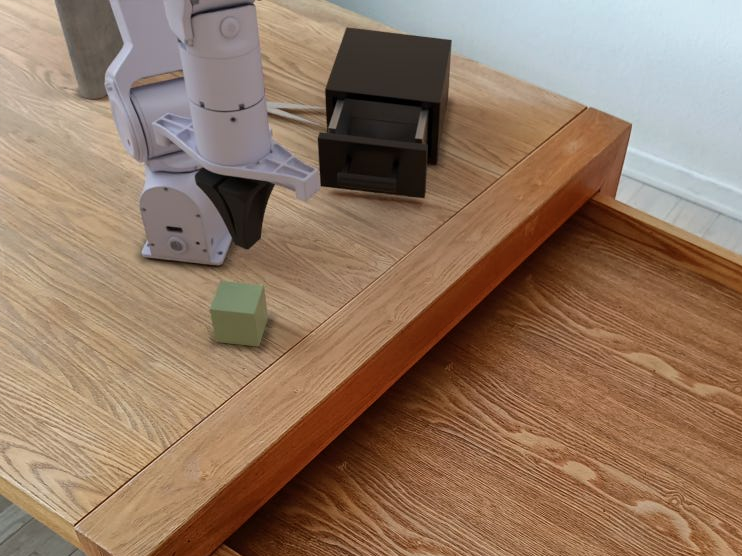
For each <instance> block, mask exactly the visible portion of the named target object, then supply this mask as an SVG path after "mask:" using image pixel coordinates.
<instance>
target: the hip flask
mask: <svg viewBox="0 0 742 556" xmlns="http://www.w3.org/2000/svg"><path fill="white" fill-rule="evenodd" d="M53 1H54V5H55V8H56V11H57V15H58V19H59V22H60V26H61V30H62V32H63V37H64V40H65V41H64V42H65V44H66V48H67V51H68V54H69V59H70V62H71V65H72V68H73V73H74V76H75V81H76V82H77V83H76V84H77V87H78V90H79V91H78V92H79V94H80V96H82V98H84V99H88V100H96V99H97V100H99V99H101V98H104V97H106V96H108V94H107V91H106V88H105V84H104V83H105V74H106V71H107V69H108V67H109V66H110V64H111V63H112V62H113V60H114V59H115V58H116V56H117V55H118V53H119V52H120V51H121V49H122V47H123V45H124V42H123V39H122V36H121V33H120V31H119V28H118V25H117V22H116V19H115V16H114V13H113V10H112V7H111V4H110V1H109V0H53Z"/></svg>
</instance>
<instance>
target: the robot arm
mask: <svg viewBox="0 0 742 556" xmlns="http://www.w3.org/2000/svg"><path fill="white" fill-rule="evenodd" d="M109 1H110V4H111V7H112V10H113V13H114V16H115V19H116V22H117V25H118V28H119V31H120V33H121V36H122V39H123V42H124V45H123V47H122V49H121V51H120V52H119V53H118V55H117V56H116V58H115V59H114V60H113V62H112V63H111V64H110V66H109V67H108V69H107V71H106V74H105V83H104V84H105V88H106V91H107V98H108V101H109V106H110V112H111V116H112V119H113V124H114V125H115V129H116V131H117V134H118V137H119V139H120V141H121V143H122V145H123V147H124V149H125V151H126V153H127V154H128V156H130V158H132V159H133V160H135V161H136V162H137V163H140V164H142V163H143V167H144V174H145V178H144V179H145V180H144V186H143V188H142V191H141V193H140V195H139V201H138V205H139V212H140V216H141V219H142V220H141V221H142V223H143V227H144V232H145V235H146V241H145V243H144V245H143V246H142V247H143V248H142V250H141V256H142V257H144V258H148V259H156V260H157V259H159V260H166V261H173V262H175V261H176V262H184V263H191V264H202V265H210V266H211V265H212V266H221V265H223V264H224V262H225V259H226V256H227V254H228V251H229V248H230V246H231V244H232V241H233V244H234V245H235V246H237V247H239V248H241V249H244V250H247V251H248V250H250V249H251V248H252V247H253V246H254V245H256V244H257V243H258V242H259V241H260V240H262V239H261V238H262V230H263V223H264V218H265V213H266V210H267V206H268V203H269V200H270V197H271V195H272V193H273V191H274V187H275V186H278V187H281V188H284V189H286V190H288V191H292V192H294V193H295V198H296V199H298V200H300V201H303V202H306V203H307V202H308V201H309V200H311V199H312V198H313V197H314V196H315V195H316V194H317V193H318V192H319V191H320V190H321V189H320V187H321V186H320V170H319V168H317V167H314V166H311V165H310V164H308V163H307V162H305V161H303V160H301V159H300V158H299V157H298V156H296V155H295V154H294V153H292V152H291V151H290V150H288V149H287V148H286V147H284V146H283V145H282V144H280V143H279V142H277V140H275V139H274V138H272V137H273V135H274V134H273V133H274V132H273V127H272V126H270V125H269V124H270V123H269V116H268V112H267V105H266V101H267V97H266V96H267V95H266V87H265V79H264V70H263V59H262V51H261V42H260V32H259V23H258V15H257V6H256V4H255V2H256V1H258V2H262V1H263V0H109ZM177 72H183V73H182V74H183V76H180V77H175V78H169V79H165V80H161V81H157V82H152V83H146V84H143V85H138V86H133V85H134V83H135V82H137V81H139V80H145V79H148V78H153V77H158V76H162V75H166V74H172V73H177Z"/></svg>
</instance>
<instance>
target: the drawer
mask: <svg viewBox="0 0 742 556" xmlns="http://www.w3.org/2000/svg"><path fill="white" fill-rule="evenodd" d="M431 115H432V109H430V108H422V107H413V106H405V105H397V104H388V103H380V102H371V101H363V100H354V99H346V98H338V100H337V103H336V106H335V109H334V112H333V116H332V119H331V122H330V125H329V133H327V132H324V131H323V132H322V131H319V133H318V136H317V150H318V151H317V152H318V153H317V154H318V170H319V186H320V187H322V188H330V189H340V190H347V191H355V192H356V191H357V192H364V193H372V194H373V193H374V194H381V195H392V196H400V197H408V198H418V199H425V198H426V194H427V193H426V192H427V175H428V174H427V173H428V164H427V154H428V142H429V136H430V131H431Z"/></svg>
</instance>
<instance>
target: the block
mask: <svg viewBox="0 0 742 556" xmlns="http://www.w3.org/2000/svg"><path fill="white" fill-rule="evenodd" d="M209 315H210V320H211V324H212V329H213V334H214V339H215V342H216V343H221V344H230V345H238V346H248V347H249V346H250V347H257V348H258V347H260V346H261V342H262V339H263V337H264V332H265V330H266V327H267V324H268V320H269V312H268V304H267V297H266V291H265V285H263V284H256V283H255V284H254V283H246V282H237V281H228V280H220V281H219V284H218V286H217V288H216V291H215V294H214V296H213V298H212V301H211V304H210V307H209Z"/></svg>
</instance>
